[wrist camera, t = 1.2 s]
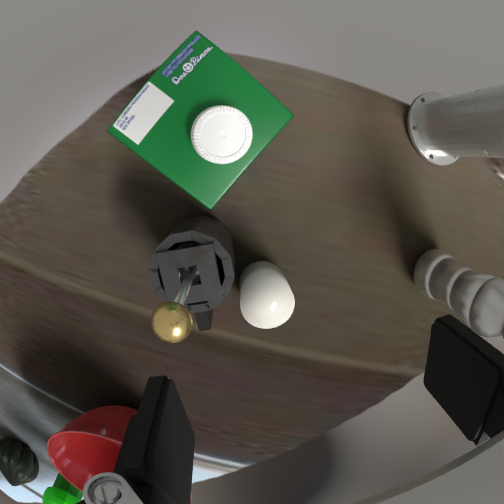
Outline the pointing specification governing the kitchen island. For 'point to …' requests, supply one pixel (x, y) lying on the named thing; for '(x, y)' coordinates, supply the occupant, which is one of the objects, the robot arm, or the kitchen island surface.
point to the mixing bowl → (89, 443)
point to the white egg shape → (265, 295)
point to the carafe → (202, 255)
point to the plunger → (177, 307)
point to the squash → (17, 462)
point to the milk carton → (200, 120)
